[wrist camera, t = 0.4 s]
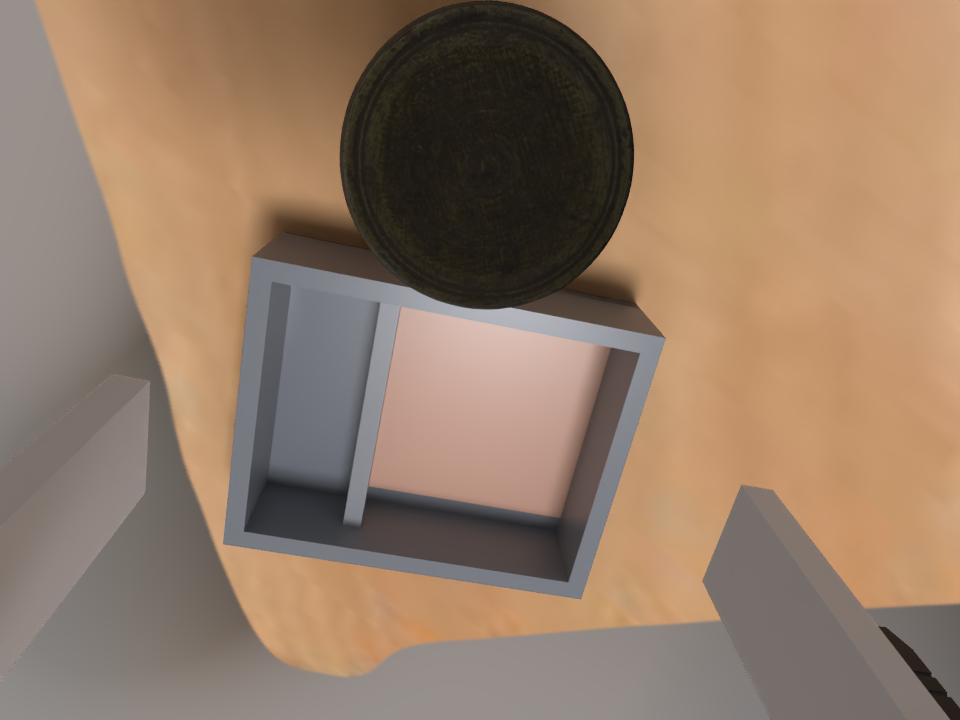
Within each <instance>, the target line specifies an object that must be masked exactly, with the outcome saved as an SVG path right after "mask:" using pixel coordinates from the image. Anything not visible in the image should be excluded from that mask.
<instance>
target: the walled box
mask: <svg viewBox="0 0 960 720" xmlns="http://www.w3.org/2000/svg"><path fill="white" fill-rule="evenodd" d="M665 339H666V338H665V337H664V336H663V334H662V333H661V332H660V331H659V330H658V329H657V328H656V326H655V325H654V324H653V323H652V322H651V321H650V319H649V318H648V317H647V316H646V315H645V314H644V312H643V311H642V310H641V309H640V308H639V307H638V306H637V304H635V303H630V302H625V301H620V300H615V299H610V298H605V297H600V296H595V295H590V294H585V293H580V292H575V291H570V290H565V289H559V290H558V291H556V292H554V293H552V294H550V295H548V296H546V297H544V298H541V299H539V300H536V301H533V302H530V303H527V304H524V305H520V306H516V307H510V308H503V309H492V310H484V309H470V308H463V307H458V306H454V305H450V304H446V303H443V302H440V301H437V300H434V299H432V298H430V297H427V296H425V295H423V294H421V293H419V292H417V291H416V290H414V289H412V288H411V287H409V286H408V285H406V284H405V283H403V282H402V281H400V280H399V279H398V278H397V277H396V276H394V275H393V274H392V273H391V272H390V271H389V270H388V269H387V268H385V267H384V265H383V264H382V263H381V262H380V261H379V260H378V259H377V258H376V256H375V255H374V254H373V253H372V252H371V250H367V249H362V248H357V247H353V246H348V245H343V244H338V243H333V242H328V241H323V240H318V239H313V238H308V237H303V236H298V235H293V234H288V233H283V232H282V233H281V234H280V235H278V236H277V237H276V238H275V239H273V240H272V241H271V242H270V243H268V244H267V245H266V246H265V247H263V248H262V249H261V250H260V251H258V252H257V253H256V254H255V255H253V256H252V262H251V272H250V282H249V292H248V302H247V312H246V322H245V332H244V342H243V352H242V362H241V372H240V382H239V392H238V401H237V411H236V421H235V431H234V441H233V451H232V461H231V471H230V481H229V491H228V501H227V511H226V521H225V531H224V541H223V544H225V545H231V546H238V547H244V548H251V549H257V550H264V551H270V552H277V553H283V554H290V555H296V556H303V557H309V558H316V559H322V560H329V561H335V562H342V563H348V564H355V565H361V566H368V567H374V568H381V569H387V570H394V571H400V572H407V573H413V574H420V575H426V576H433V577H439V578H446V579H452V580H459V581H465V582H472V583H478V584H485V585H491V586H498V587H504V588H511V589H517V590H524V591H530V592H537V593H543V594H550V595H556V596H563V597H569V598H576V599H581V598H582V595H583V592H584V589H585V585H586V582H587V579H588V576H589V573H590V570H591V567H592V564H593V561H594V558H595V555H596V552H597V548H598V545H599V542H600V539H601V536H602V533H603V530H604V527H605V524H606V521H607V518H608V515H609V511H610V508H611V505H612V502H613V499H614V496H615V493H616V490H617V487H618V484H619V481H620V478H621V474H622V471H623V468H624V465H625V462H626V459H627V456H628V453H629V450H630V447H631V444H632V441H633V438H634V434H635V431H636V428H637V425H638V422H639V419H640V416H641V413H642V410H643V407H644V404H645V401H646V397H647V394H648V391H649V388H650V385H651V382H652V379H653V376H654V373H655V370H656V367H657V364H658V360H659V357H660V354H661V351H662V348H663V345H664V342H665Z"/></svg>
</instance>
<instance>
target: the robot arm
mask: <svg viewBox="0 0 960 720" xmlns="http://www.w3.org/2000/svg"><path fill="white" fill-rule="evenodd" d="M149 396H150V381H148V380H143V379H137V378H131V377H125V376H120V375H114V374H112V375H111V376H109V377H108V378H107V379H106V380H105V381H103V382H102V383H101V384H100V385H99V386H98V387H96V388H95V389H94V390H93V391H92V392H90V393H89V394H88V395H87V396H86V397H85V398H83V399H82V400H81V401H80V402H79V403H77V404H76V405H75V406H74V407H73V408H71V409H70V410H69V411H68V412H67V413H66V414H64V415H63V416H62V417H61V418H60V419H59V420H57V421H56V422H55V423H54V424H53V425H51V426H50V427H49V428H48V429H47V430H45V431H44V432H43V433H42V434H41V435H39V436H38V437H37V438H36V439H35V440H34V441H32V442H31V443H30V444H29V445H28V446H27V447H25V448H24V449H23V450H22V451H21V452H19V453H18V454H17V455H16V456H15V457H13V458H12V459H11V460H10V461H9V462H8V463H6V464H5V465H4V466H3V467H2V468H1V469H0V682H1V681H2V680H3V678H4V677H5V676H6V674H7V673H8V672H9V670H10V669H11V668H12V666H13V665H14V664H15V663H16V661H17V660H18V659H19V657H20V656H21V655H22V653H23V652H24V651H25V649H26V648H27V647H28V645H29V644H30V643H31V642H32V640H33V639H34V638H35V636H36V635H37V634H38V632H39V631H40V630H41V628H42V627H43V625H44V624H45V623H46V622H47V621H48V619H49V618H50V616H51V615H52V614H53V613H54V611H55V610H56V609H57V607H58V606H59V605H60V604H61V602H62V601H63V600H64V598H65V597H66V596H67V594H68V593H69V592H70V590H71V589H72V588H73V586H74V585H75V584H76V582H77V581H78V580H79V579H80V577H81V576H82V575H83V573H84V572H85V571H86V569H87V568H88V567H89V565H90V564H91V563H92V561H93V560H94V559H95V558H96V556H97V555H98V554H99V552H100V551H101V550H102V548H103V547H104V546H105V544H106V543H107V542H108V541H109V539H110V538H111V536H112V535H113V534H114V533H115V531H116V530H117V529H118V527H119V526H120V525H121V524H122V522H123V521H124V520H125V518H126V517H127V516H128V514H129V513H130V512H131V510H132V509H133V508H134V506H135V505H136V504H137V502H138V501H139V500H140V499H141V497H142V496H143V495H144V493H145V487H146V464H147V441H148V418H149ZM703 583H704V585H705V587H706V589H707V591H708V594H709V596H710V598H711V600H712V602H713V604H714V606H715V608H716V610H717V612H718V614H719V616H720V618H721V620H722V622H723V624H724V626H725V628H726V630H727V632H728V634H729V636H730V638H731V640H732V642H733V644H734V647H735V649H736V651H737V653H738V655H739V657H740V658H741V661H742V663H743V665H744V667H745V669H746V671H747V673H748V675H749V677H750V679H751V681H752V683H753V685H754V687H755V689H756V691H757V693H758V695H759V697H760V699H761V702H762V704H763V706H764V707H765V710H766V712H767V714H768V716H769V718H770V720H960V708H959V707H958V706H957V704H956V703H955V702H954V701H953V699H952V698H950V697H947V692H946V691H945V689H944V688H943V687H942V685H941V684H940V683H939V682H938V681H937V679H936V678H933V677H932V676H931V672H930V671H929V669H928V668H927V667H926V666H925V664H924V663H923V662H922V661H921V659H920V658H919V657H918V656H917V654H916V653H915V652H914V651H913V649H911V648H910V647H909V646H908V645H907V644H905V643H904V642H903V641H902V640H901V639H899V638H898V637H897V636H896V635H895V634H893V633H892V632H891V631H890V630H889V629H887V628H886V627H880V626H877V624H876V623H875V622H874V620H873V619H872V618H871V617H870V615H869V614H868V613H867V611H866V610H865V609H864V608H863V606H862V605H861V604H860V602H859V601H858V600H857V598H856V597H855V596H854V595H853V593H852V592H851V591H850V589H849V588H848V587H847V586H846V584H845V583H844V582H843V580H842V579H841V578H840V576H839V575H838V574H837V573H836V571H835V570H834V569H833V567H832V566H831V565H830V564H829V562H828V561H827V560H826V558H825V557H824V556H823V554H822V553H821V552H820V551H819V549H818V548H817V547H816V545H815V544H814V543H813V542H812V540H811V539H810V538H809V536H808V535H807V534H806V532H805V531H804V530H803V529H802V527H801V526H800V525H799V523H798V522H797V521H796V520H795V518H794V517H793V516H792V514H791V513H790V512H789V510H788V509H787V508H786V507H785V505H784V504H783V503H782V501H781V500H780V499H779V498H778V496H777V495H776V494H775V492H774V491H773V490H769V489H763V488H758V487H752V486H746V485H741V487H740V490H739V492H738V494H737V497H736V499H735V502H734V504H733V507H732V509H731V512H730V514H729V517H728V519H727V522H726V524H725V527H724V529H723V531H722V534H721V536H720V539H719V541H718V544H717V546H716V549H715V551H714V554H713V556H712V559H711V561H710V563H709V566H708V568H707V571H706V573H705V576H704V578H703Z"/></svg>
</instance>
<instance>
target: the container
mask: <svg viewBox="0 0 960 720" xmlns="http://www.w3.org/2000/svg"><path fill="white" fill-rule="evenodd" d="M633 166H634V144H633V134H632V127H631V122H630V118H629V114H628V110H627V107H626V104H625V101H624V99H623V96H622V94H621V91H620V89H619V87H618V85H617V83H616V81H615V79H614V77H613V75H612V74H611V72H610V70H609V69H608V67H607V66H606V64H605V63H604V62H603V60H602V59H601V58H600V56H599V55H598V54H597V53H596V51H595V50H594V49H593V48H592V47H591V46H590V45H589V44H588V43H587V42H586V41H585V40H584V39H583V38H581V37H580V36H579V35H578V34H577V33H575V32H574V31H573V30H571V29H570V28H569V27H567V26H566V25H564V24H563V23H561V22H559V21H558V20H556V19H554V18H552V17H550V16H548V15H546V14H544V13H542V12H539V11H537V10H534V9H531V8H528V7H525V6H522V5H517V4H513V3H508V2H501V1H472V2H463V3H458V4H453V5H449V6H446V7H442V8H439V9H437V10H434V11H432V12H430V13H428V14H425V15H423V16H421V17H419V18H418V19H416V20H414V21H413V22H411V23H410V24H408V25H407V26H405V27H404V28H403V29H401V30H400V31H399V32H398V33H396V34H395V35H394V36H393V37H391V38H390V39H389V40H388V41H387V42H386V43H385V44H384V45H383V46H382V47H381V49H380V50H379V51H378V52H377V53H376V55H375V56H374V57H373V59H372V60H371V61H370V63H369V64H368V65H367V67H366V69H365V70H364V72H363V73H362V75H361V77H360V79H359V80H358V82H357V84H356V86H355V88H354V90H353V93H352V95H351V98H350V100H349V103H348V106H347V110H346V114H345V117H344V122H343V127H342V134H341V143H340V172H341V179H342V186H343V191H344V196H345V200H346V203H347V206H348V209H349V212H350V214H351V217H352V219H353V221H354V224H355V226H356V228H357V230H358V232H359V234H360V235H361V237H362V239H363V240H364V242H365V243H366V245H367V246H368V247H369V249H370V250H371V252H372V253H373V254H374V255H375V256H376V258H377V259H378V260H379V261H380V262H381V263H382V264H383V265H384V267H385V268H387V269H388V270H389V271H390V272H391V273H392V274H393V275H394V276H396V277H397V278H398V279H399V280H400V281H402V282H403V283H405V284H406V285H408V286H409V287H411V288H412V289H414V290H416V291H417V292H419V293H421V294H423V295H425V296H427V297H430V298H432V299H434V300H437V301H440V302H443V303H446V304H450V305H454V306H458V307H463V308H470V309H484V310H492V309H503V308H510V307H516V306H520V305H524V304H527V303H530V302H533V301H536V300H539V299H541V298H544V297H546V296H548V295H550V294H552V293H554V292H556V291H558V290H559V289H561V288H563V287H564V286H566V285H567V284H569V283H570V282H571V281H573V280H574V279H575V278H576V277H578V276H579V275H580V274H581V273H582V272H583V271H585V270H586V269H587V268H588V267H589V266H590V265H591V264H592V262H593V261H594V260H595V259H596V258H597V257H598V255H599V254H600V253H601V252H602V250H603V249H604V248H605V246H606V245H607V243H608V242H609V240H610V239H611V237H612V235H613V233H614V231H615V230H616V228H617V226H618V223H619V221H620V219H621V216H622V214H623V211H624V208H625V205H626V203H627V199H628V196H629V192H630V187H631V182H632V176H633Z"/></svg>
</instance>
